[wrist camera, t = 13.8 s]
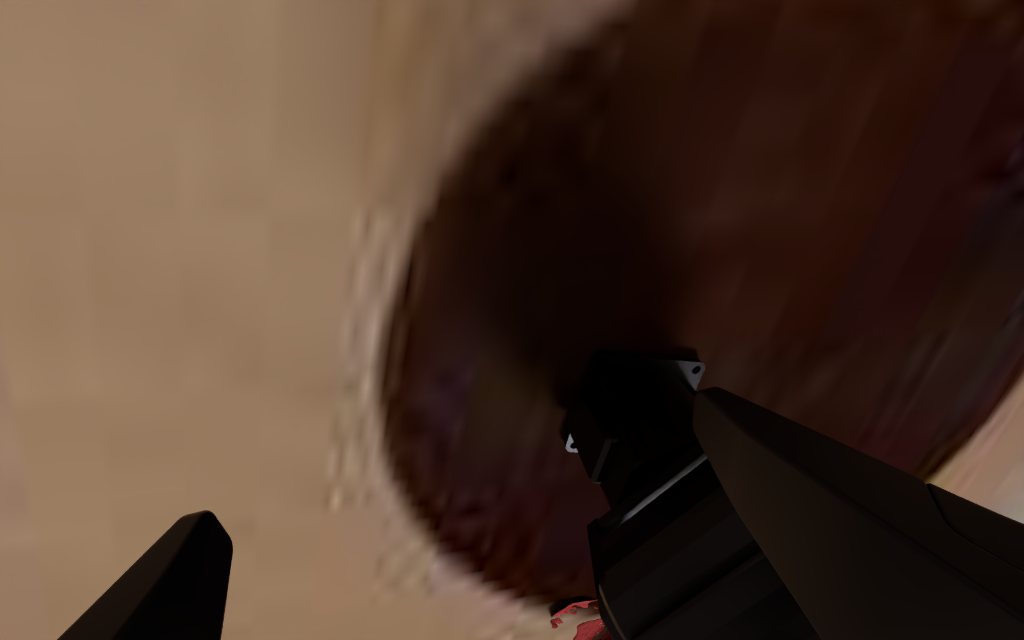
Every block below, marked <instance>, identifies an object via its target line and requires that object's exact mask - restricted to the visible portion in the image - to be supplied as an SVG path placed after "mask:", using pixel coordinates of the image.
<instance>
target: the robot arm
mask: <svg viewBox="0 0 1024 640" xmlns="http://www.w3.org/2000/svg"><path fill="white" fill-rule="evenodd" d="M602 359H605V360H604V361H603V362H602V363H599V361H600V360H602ZM694 367H696V368H695V369H693V368H694ZM692 369H693V370H692ZM704 370H705V365H704V364H703V363H702V362H701V361H700V360H699V359H697V358H688V357H676V356H664V355H652V354H640V353H628V352H616V351H604V350H603V351H598V352H596V353H595V354H594V355H593V356H592V358H591V361H590V364H589V367H588V370H587V373H586V376H585V379H584V382H583V385H582V387H581V388H580V389H579V390H578V392H577V395H576V398H575V401H574V404H573V407H572V410H571V413H570V416H569V419H568V422H567V428H568V430H567V433H566V436H565V439H564V444H565V447H566V449H567V450H568V451H569V452H578V453H579V456H580V458H581V460H582V463H583V465H584V467H585V469H586V472H587V474H588V476H589V479H590V480H591V481H592V482H593V484H600V486H601V488H602V490H603V492H604V494H605V497H606V499H607V501H608V503H609V506H610V508H611V510H610V511H609V512H607V513H606V514H605V515H603V516H602V517H601V518H600V519H595V520H594V521H592V522H591V523H590V524H589V525H587V530H588V538H589V545H590V552H591V559H592V566H593V573H594V580H595V588H596V595H597V600H598V604H599V610H600V616H601V619H602V621H603V623H604V624H605V626H606V627H607V628H608V630H609V632H610V635H611V637H612V638H613V640H1024V524H1023V523H1020V522H1018V521H1015V520H1013V519H1010V518H1008V517H1005V516H1003V515H1001V514H998V513H996V512H994V511H991V510H989V509H987V508H985V507H982V506H980V505H978V504H975V503H973V502H971V501H969V500H966V499H964V498H962V497H959V496H957V495H955V494H953V493H951V492H948V491H946V490H944V489H942V488H940V487H937V486H935V485H933V484H931V483H928V484H926V483H925V481H924V480H922V479H919V478H917V477H915V476H913V475H911V474H908V473H906V472H904V471H902V470H900V469H897V468H895V467H893V466H891V465H889V464H887V463H884V462H882V461H880V460H878V459H876V458H873V457H871V456H869V455H867V454H865V453H862V452H860V451H858V450H856V449H854V448H851V447H849V446H847V445H845V444H843V443H840V442H838V441H836V440H834V439H832V438H829V437H827V436H825V435H823V434H821V433H818V432H816V431H814V430H812V429H810V428H807V427H805V426H803V425H801V424H799V423H796V422H794V421H792V420H790V419H788V418H786V417H783V416H781V415H779V414H777V413H775V412H772V411H770V410H768V409H766V408H764V407H761V406H759V405H757V404H755V403H753V402H750V401H748V400H746V399H744V398H742V397H739V396H737V395H735V394H733V393H731V392H728V391H726V390H724V389H722V388H719V387H711V388H707V389H703V390H699V391H697V392H696V388H697V385H698V383H699V381H700V379H701V377H702V375H703V372H704ZM573 442H574V443H573ZM571 443H573V444H571ZM232 554H233V545H232V541H231V538H230V536H229V535H228V533H227V532H226V531H225V529H224V528H223V526H222V525H221V523H220V522H219V520H218V519H217V518H216V516H215V515H214V514H213V512H211V511H208V510H204V511H200V512H196V513H192V514H188V515H185V516H183V517H181V518H180V519H179V520H178V521H177V522H176V523H175V524H174V525H173V526H172V527H171V528H170V529H169V530H168V531H167V532H166V533H165V534H164V535H163V536H162V537H161V538H159V539H158V540H157V541H156V542H155V543H154V544H153V545H152V546H151V547H150V548H149V549H148V550H147V551H146V552H145V553H144V554H143V555H142V556H141V557H140V558H139V559H138V560H137V561H136V562H135V563H134V564H133V565H132V566H131V567H130V568H129V569H128V570H127V571H126V572H125V573H124V574H123V575H122V576H121V577H120V578H119V579H118V580H117V581H116V582H115V583H114V584H113V585H112V586H111V587H110V588H109V589H108V590H107V591H106V592H105V593H104V594H103V595H102V596H101V597H100V598H99V599H98V600H97V601H96V602H95V603H94V604H93V605H92V606H91V607H90V608H89V609H88V610H87V611H86V612H85V613H84V614H83V615H82V616H81V617H80V618H79V619H78V620H77V621H76V622H75V623H74V624H72V625H71V626H70V627H69V628H68V629H67V630H66V631H65V632H64V633H63V634H62V635H61V636H60V637H59V638H58V639H57V640H221V634H222V628H223V621H224V613H225V606H226V599H227V591H228V584H229V576H230V569H231V562H232Z"/></svg>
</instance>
